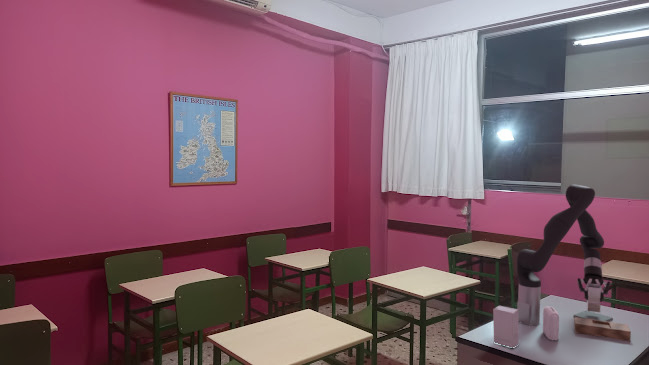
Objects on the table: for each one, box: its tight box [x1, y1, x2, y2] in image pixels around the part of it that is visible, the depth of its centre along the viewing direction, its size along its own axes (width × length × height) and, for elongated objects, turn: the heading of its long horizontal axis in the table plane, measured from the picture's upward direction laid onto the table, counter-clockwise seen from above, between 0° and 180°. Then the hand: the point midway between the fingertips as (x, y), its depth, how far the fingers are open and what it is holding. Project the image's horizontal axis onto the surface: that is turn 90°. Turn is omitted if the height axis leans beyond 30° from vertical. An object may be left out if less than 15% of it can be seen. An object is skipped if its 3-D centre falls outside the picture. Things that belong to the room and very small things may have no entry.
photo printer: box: [542, 305, 560, 341], centre depth 191 cm, size 10×4×12 cm, turn 169°
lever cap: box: [586, 283, 602, 313], centre depth 213 cm, size 5×6×12 cm
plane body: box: [573, 317, 632, 342], centre depth 195 cm, size 20×9×4 cm, turn 64°
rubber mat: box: [572, 309, 614, 322], centre depth 213 cm, size 12×12×1 cm
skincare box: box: [492, 305, 520, 348], centre depth 182 cm, size 8×6×15 cm
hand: (594, 300), depth 211 cm, fingers closed on lever cap, 5 cm apart
